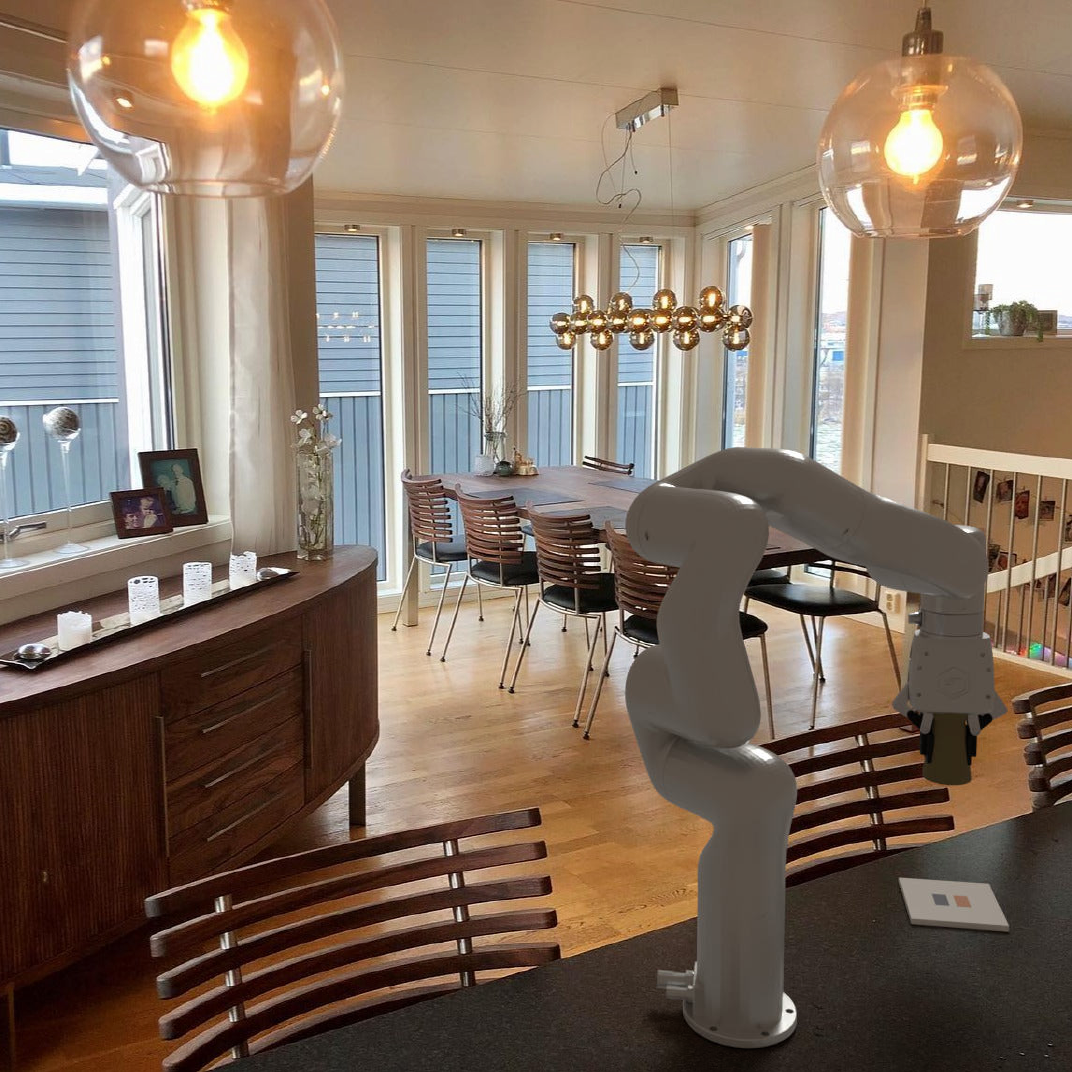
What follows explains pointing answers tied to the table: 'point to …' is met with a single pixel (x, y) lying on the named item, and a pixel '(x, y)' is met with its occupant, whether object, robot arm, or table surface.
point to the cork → (948, 751)
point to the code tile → (952, 904)
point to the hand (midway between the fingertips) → (947, 759)
